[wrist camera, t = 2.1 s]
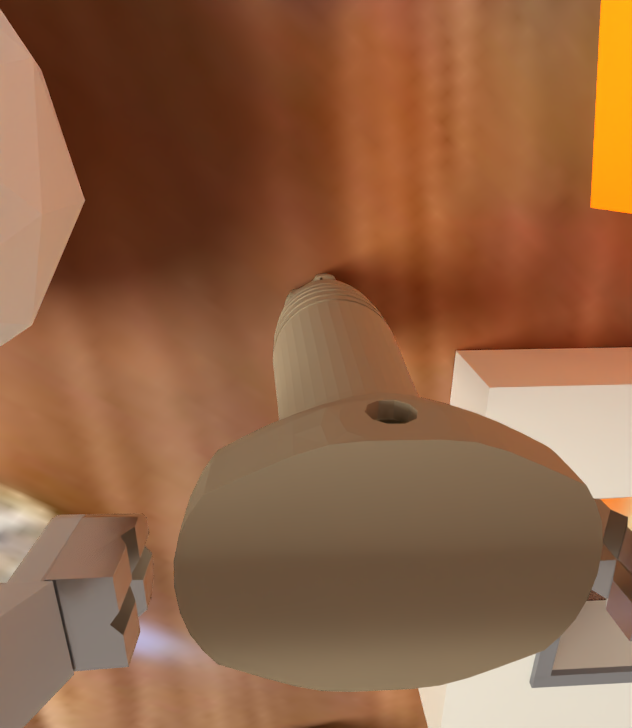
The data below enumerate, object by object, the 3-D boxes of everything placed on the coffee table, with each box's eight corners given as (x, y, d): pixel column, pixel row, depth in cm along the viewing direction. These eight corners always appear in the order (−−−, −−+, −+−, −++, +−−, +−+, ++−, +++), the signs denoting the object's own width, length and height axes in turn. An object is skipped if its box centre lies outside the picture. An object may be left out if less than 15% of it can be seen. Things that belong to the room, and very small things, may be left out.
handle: (393, 360, 22) (566, 681, 9) (249, 362, 22) (188, 699, 8) (401, 252, 21) (637, 436, 7) (244, 251, 20) (156, 444, 6)
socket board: (456, 350, 22) (492, 391, 18) (834, 343, 23) (947, 380, 19) (417, 687, 31) (437, 765, 27) (699, 672, 32) (759, 745, 28)
